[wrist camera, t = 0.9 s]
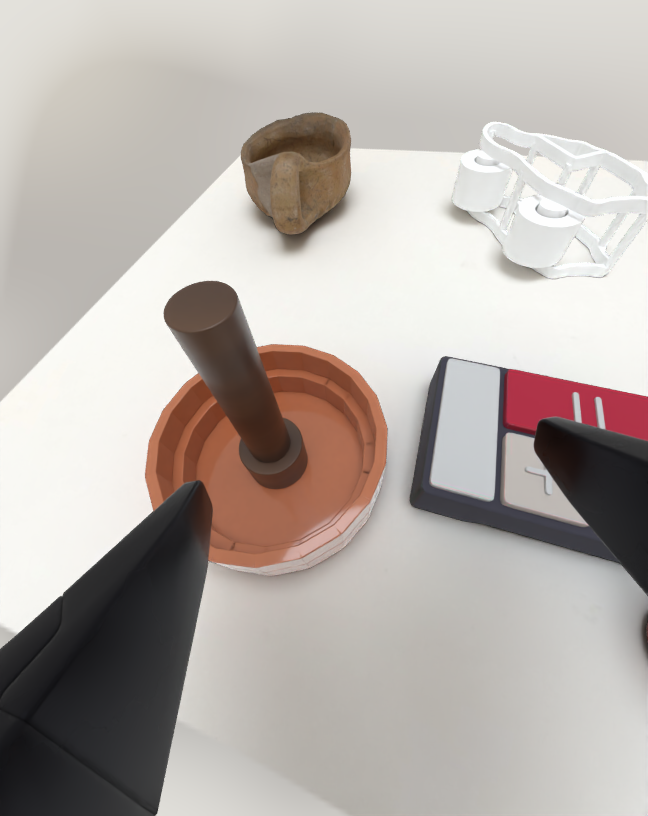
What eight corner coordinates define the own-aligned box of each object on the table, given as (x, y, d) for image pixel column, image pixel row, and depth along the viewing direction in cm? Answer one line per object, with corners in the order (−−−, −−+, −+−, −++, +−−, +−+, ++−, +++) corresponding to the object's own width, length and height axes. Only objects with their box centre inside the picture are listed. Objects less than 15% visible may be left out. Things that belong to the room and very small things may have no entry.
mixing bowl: (375, 592, 21) (381, 586, 16) (148, 558, 23) (101, 546, 18) (385, 388, 28) (390, 349, 24) (216, 377, 31) (193, 340, 26)
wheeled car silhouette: (435, 201, 43) (448, 131, 37) (512, 182, 44) (538, 111, 38) (525, 298, 33) (566, 224, 26) (625, 271, 34) (686, 193, 27)
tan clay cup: (383, 230, 38) (361, 131, 30) (275, 278, 41) (228, 201, 33) (352, 160, 47) (329, 70, 39) (265, 204, 51) (227, 130, 42)
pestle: (302, 492, 24) (241, 352, 11) (243, 486, 24) (120, 346, 11) (311, 437, 26) (270, 267, 13) (257, 432, 26) (167, 266, 14)
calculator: (723, 569, 17) (422, 487, 19) (652, 576, 20) (408, 506, 23) (675, 393, 22) (444, 347, 25) (626, 424, 26) (430, 381, 28)
